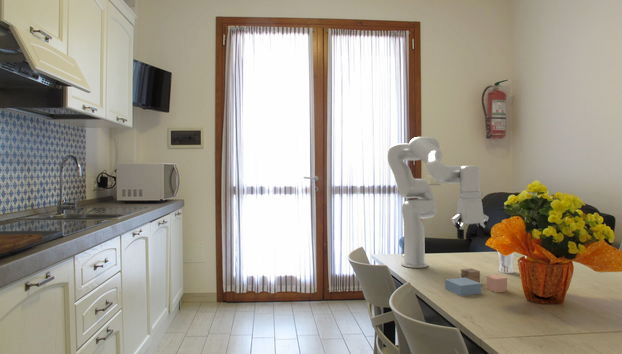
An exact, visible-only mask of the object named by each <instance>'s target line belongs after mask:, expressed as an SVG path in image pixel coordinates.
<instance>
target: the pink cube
mask: <svg viewBox="0 0 622 354" xmlns="http://www.w3.org/2000/svg"><path fill="white" fill-rule="evenodd" d="M486 289H487V290H488V291H491V292H495V293H502V292H503V293H504V292H508V278H507V277H505V276H502V275H498V274H493V275H486Z"/></svg>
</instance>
